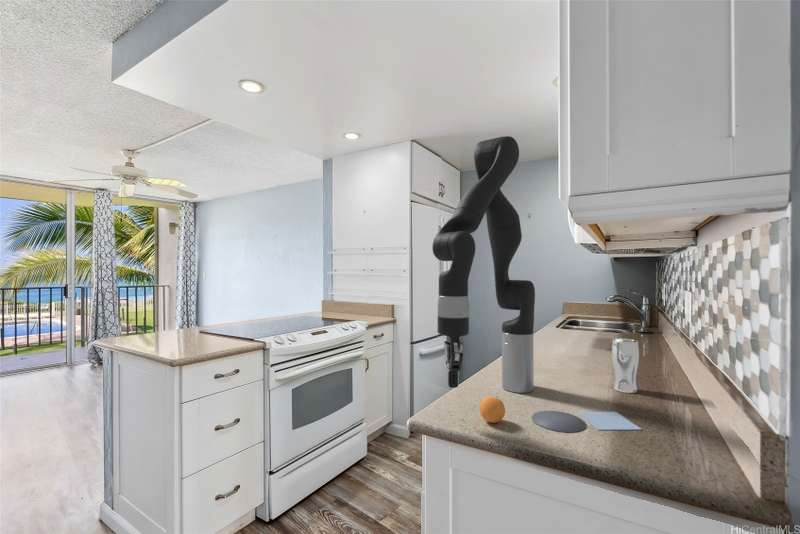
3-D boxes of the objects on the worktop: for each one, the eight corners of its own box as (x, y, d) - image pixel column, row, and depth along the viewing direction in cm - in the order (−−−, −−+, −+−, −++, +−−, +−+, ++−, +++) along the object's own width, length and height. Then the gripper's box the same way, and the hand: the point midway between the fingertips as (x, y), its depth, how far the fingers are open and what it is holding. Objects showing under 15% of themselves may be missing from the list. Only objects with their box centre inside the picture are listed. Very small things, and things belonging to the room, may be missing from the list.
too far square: (576, 412, 94) (576, 412, 94) (615, 412, 94) (615, 411, 94) (598, 430, 84) (598, 429, 84) (641, 429, 84) (641, 429, 84)
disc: (524, 411, 95) (524, 410, 95) (571, 411, 95) (571, 410, 95) (543, 432, 83) (543, 431, 83) (596, 432, 83) (596, 431, 83)
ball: (477, 416, 92) (477, 392, 92) (501, 416, 92) (501, 392, 92) (482, 427, 86) (482, 401, 86) (508, 427, 86) (508, 401, 86)
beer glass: (638, 388, 113) (638, 339, 113) (639, 395, 107) (639, 343, 107) (612, 384, 116) (611, 337, 116) (611, 391, 110) (611, 341, 110)
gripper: (474, 318, 82) (474, 396, 82) (463, 311, 95) (463, 378, 95) (441, 318, 82) (440, 396, 82) (434, 311, 95) (434, 378, 95)
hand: (452, 386), depth 89 cm, fingers closed
